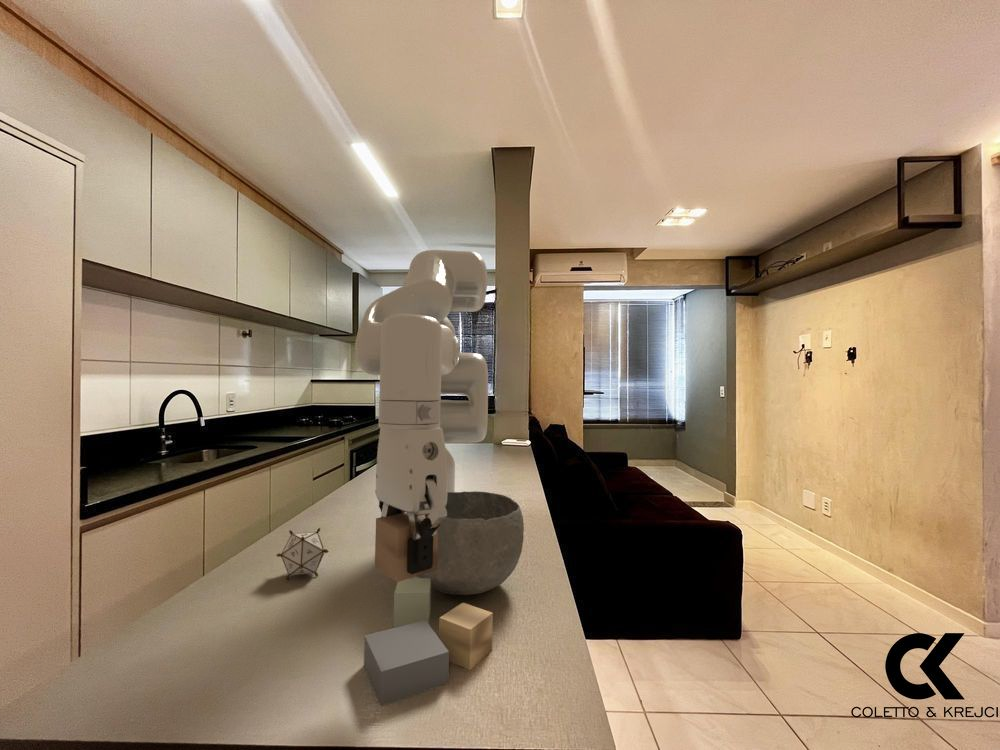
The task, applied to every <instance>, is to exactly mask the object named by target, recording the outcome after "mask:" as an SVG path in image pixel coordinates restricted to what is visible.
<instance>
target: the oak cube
mask: <svg viewBox="0 0 1000 750" xmlns="http://www.w3.org/2000/svg"><path fill="white" fill-rule="evenodd" d="M493 613H494V612H491V611H489V610H485V609H483V608H480V607H478V606H477V607H476V606H474V605H471V604H469V603H466V602H461V603H460V604H458V605H456V606H455V607H453V608H452V609H450V610H448V611H447V612H446V613H444V614H442V615H441V616H440V617H439V619H438V620H439V621H438V622H439V624H438V631H439V632H438V638H439V639H440V640H441V642H442V643H443V644H444V646H445V647H446V648H447V650H448V651H449V662H450V663H451V662H452V663H453V664H455V665H457V666H460V667H462V668H465V669H467V670H472V668H474V666H476V665H477V664H478V663H480V661H482V660H483V659H484V658H486V656H487V655H488V654H489V653H491V652H492V651H493V622H494V621H493V619H494V618H493V617H494V615H493Z"/></svg>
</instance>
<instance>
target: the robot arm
mask: <svg viewBox="0 0 1000 750" xmlns="http://www.w3.org/2000/svg"><path fill="white" fill-rule="evenodd" d="M487 288H488V270H487V266H486V262H485V260H484V259H483V257H482V256H481V255H480V254H479V253H477V252H475V251H465V250H447V249H444V250H443V249H429V250H424V251H423V250H422V251H421V252H419V253H418V254H416V255H415V256H413V259H412V260H411V262H410V264H409V269H408V272H407V274H406V275H405V277H404V280H403V286H400V287H399V288H396V289H393V290H392V291H390V292H388V293H386V294H384V295H382V296H380V297H378V298H377V299H375V300H374V301H373V302H372V303H370V305H369V306H367V309H366V310H365V312H364V314H363V317H362V319H361V322H360V324H359V328H358V330H357V334H356V338H355V345H354V354H355V360H356V363H357V365H358V367H359V368H360V369H361V370H362V371H363V372H364V373H366V374H369V375H372V376H379V395H378V396H379V397H378V399H379V400H378V428H380V431H379V438H378V443H377V451H376V452H377V455H376V465H375V466H376V468H375V492H374V493H375V495H376V499H377V501H378V508H379V509H380V512H381V514H380V517H386V516H391V515H396V514H401V513H406V512H407V513H408V515H409V522H410V529H411V536H412V538H409V539H408V555H407V572H408V573H410V574H414V573H418V572H421V571H424V570H428V569H431V568H432V566H433V536H435V535H436V532H437V531H436V530H437V528H438V527H439V526H440V523H441V522H442V521H443V520H444V519H445V518H446V516H447V510H446V508H445V506H446V504H447V492H456V490H455V488H456V487H455V486H456V485H455V484H456V463H455V462H456V461H455V458H454V457H453V455H452V454H451V452H450V451H449V450H448V449H447V448H446V444H451V443H452V444H453V443H456V444H458V443H460V444H461V443H462V444H463V443H464V444H467V443H469V444H473V443H475V444H476V443H479V442H483V440H485V438H486V436H487V432H488V418H489V416H488V415H489V413H488V411H489V409H488V408H489V371H488V364H487V360H486V358H485V357H484V355H482V354H480V353H475V352H461V351H460V342H459V339H458V337H457V336H456V329H455V326H454V325H453V323H452V321H451V320H450V319H449V318H448V316H449V314H450V313H451V312H462V313H463V312H464V313H465V312H467V313H472V312H478V311H480V310H481V309H482V308H483V306H484V304H485V301H486V296H487ZM442 395H462V396H466V397H467V398H468V400H455V399H454V400H451V399H442V398H441V397H442ZM423 504H424V505H425V509H422V510H420V508H419V506H420V505H423ZM420 515H425V519H423V521H422V522H421V524H420V525H419V521H418V516H420Z"/></svg>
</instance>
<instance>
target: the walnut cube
mask: <svg viewBox="0 0 1000 750" xmlns="http://www.w3.org/2000/svg"><path fill="white" fill-rule="evenodd" d="M423 519H425V515H420V516H418V521H419V525H420V524H421V522H422V521H423ZM436 531H437V532H436V535H435V536H433V566H432V568H431V569H428V570H424V571H421V572H418V573H414V574H410V573H408V572H407V555H408V539H409V538H412V536H411V529H410V522H409V515H408V513H407V512H405V513H401V514H396V515H391V516H386V517H381V516H380V517H376V518H375V546H374V548H375V549H374V568H375V569H376V570H377V571H379V572H381V573H383V574H384V575H386V576H387V577H389V578H390V579H392V580H393V581H394V582H396V583H397V582H399V581H402V580H406V579H409V578H416V577H418V576H419V575H422V574H425V573H429V572H432V571H435V570H437V558H438V528H437V530H436Z"/></svg>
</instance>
